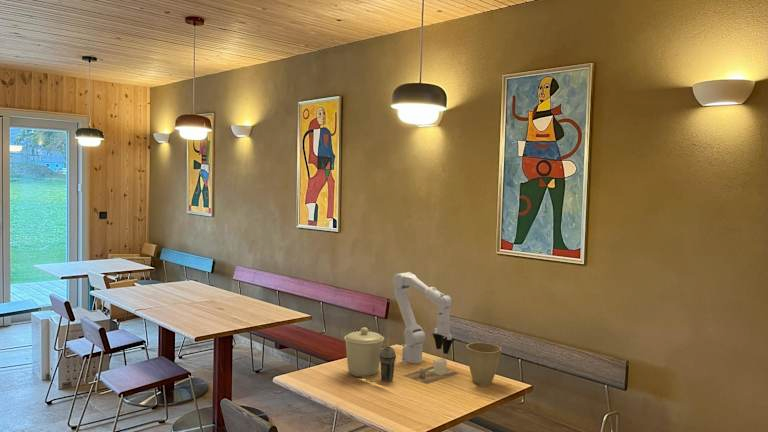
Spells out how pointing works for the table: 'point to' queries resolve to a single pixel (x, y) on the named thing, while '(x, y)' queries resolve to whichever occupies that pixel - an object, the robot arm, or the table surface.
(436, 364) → the beige stacked cube
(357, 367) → the canister
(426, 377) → the post board
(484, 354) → the plant pot
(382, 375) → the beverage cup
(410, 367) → the table surface
